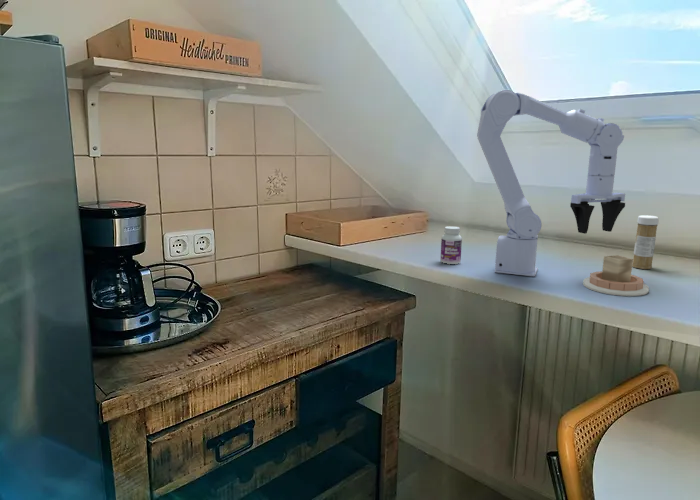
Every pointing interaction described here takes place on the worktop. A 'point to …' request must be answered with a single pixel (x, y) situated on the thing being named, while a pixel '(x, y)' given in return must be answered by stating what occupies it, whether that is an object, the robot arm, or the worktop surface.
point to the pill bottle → (451, 245)
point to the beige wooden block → (617, 268)
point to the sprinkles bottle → (645, 241)
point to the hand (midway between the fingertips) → (594, 231)
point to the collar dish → (616, 285)
